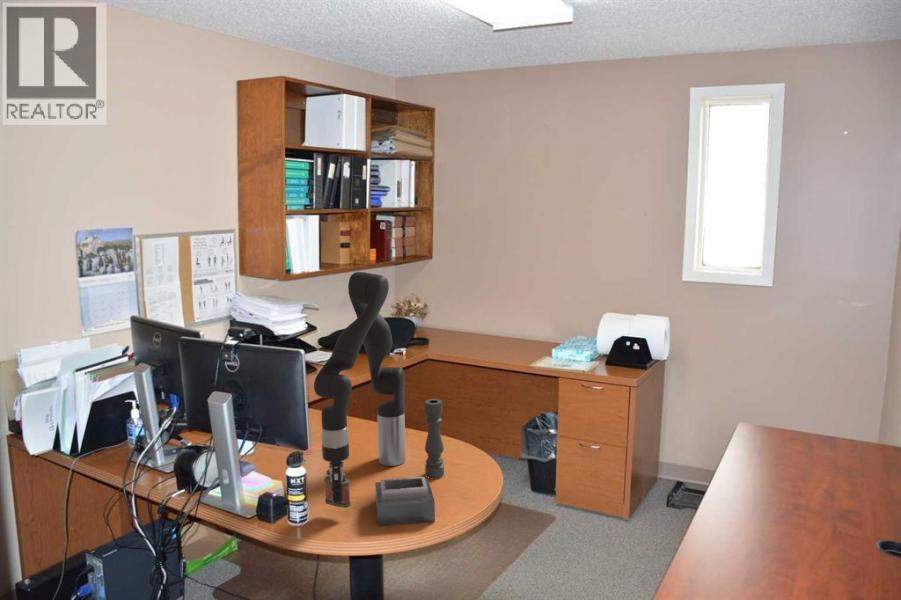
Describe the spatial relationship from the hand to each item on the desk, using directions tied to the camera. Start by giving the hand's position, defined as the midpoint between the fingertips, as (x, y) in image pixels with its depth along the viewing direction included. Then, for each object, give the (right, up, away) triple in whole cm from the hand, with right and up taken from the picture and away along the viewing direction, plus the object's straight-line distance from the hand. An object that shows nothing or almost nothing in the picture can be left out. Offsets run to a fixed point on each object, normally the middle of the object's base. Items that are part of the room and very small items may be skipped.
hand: (337, 497), depth 204 cm
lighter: (0, -2, 0) cm, 2 cm away
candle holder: (+27, -1, +28) cm, 39 cm away
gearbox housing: (+19, -5, +3) cm, 20 cm away
